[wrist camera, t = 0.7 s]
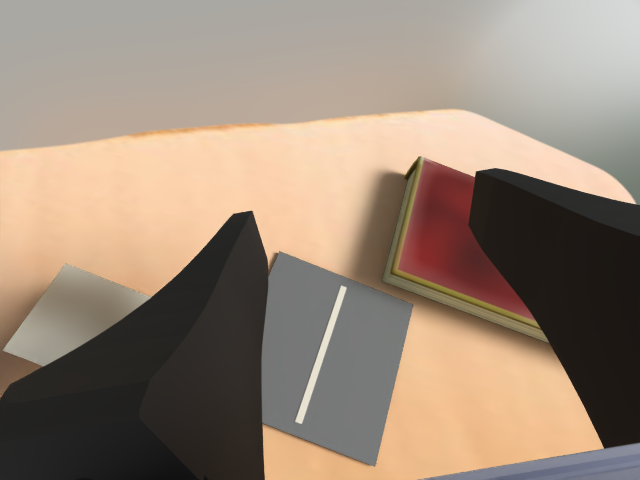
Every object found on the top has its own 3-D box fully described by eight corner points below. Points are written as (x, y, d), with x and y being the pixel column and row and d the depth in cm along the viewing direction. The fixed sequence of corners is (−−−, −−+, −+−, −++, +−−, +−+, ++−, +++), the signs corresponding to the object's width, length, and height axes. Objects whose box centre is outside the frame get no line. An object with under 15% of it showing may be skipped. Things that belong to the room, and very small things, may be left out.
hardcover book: (403, 176, 33) (422, 150, 30) (593, 248, 34) (635, 233, 30) (375, 284, 29) (393, 271, 25) (596, 367, 29) (647, 366, 25)
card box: (190, 403, 23) (167, 413, 17) (65, 355, 23) (2, 350, 17) (223, 332, 25) (212, 320, 19) (109, 287, 25) (65, 263, 19)
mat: (373, 465, 23) (375, 466, 23) (213, 403, 23) (212, 403, 22) (411, 305, 28) (413, 304, 27) (279, 252, 28) (279, 250, 27)
